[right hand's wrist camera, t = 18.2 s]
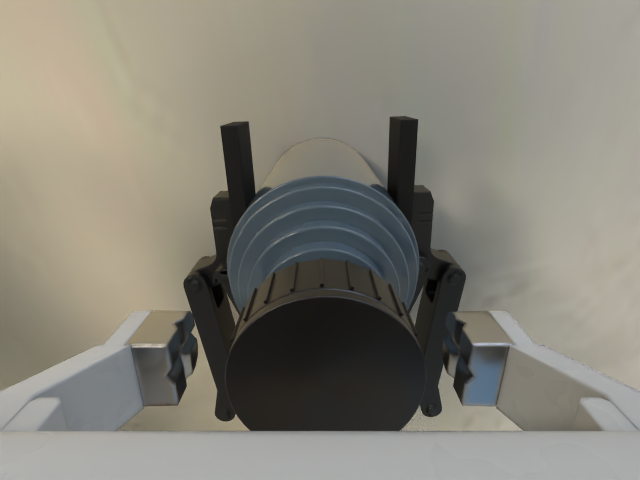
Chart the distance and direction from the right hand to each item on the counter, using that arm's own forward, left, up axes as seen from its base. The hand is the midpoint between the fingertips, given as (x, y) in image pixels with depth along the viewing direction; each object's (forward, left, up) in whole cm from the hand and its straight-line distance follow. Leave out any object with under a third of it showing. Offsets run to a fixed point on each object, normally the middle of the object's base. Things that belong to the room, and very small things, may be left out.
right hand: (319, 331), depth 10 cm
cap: (0, 0, +2) cm, 2 cm away
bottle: (0, 0, -16) cm, 16 cm away
